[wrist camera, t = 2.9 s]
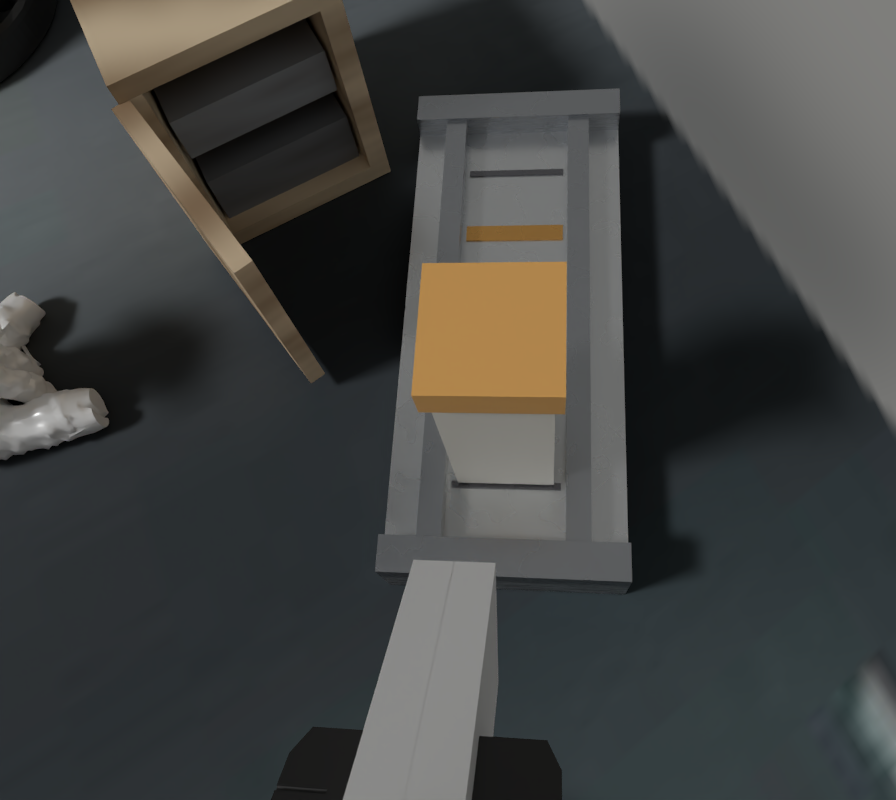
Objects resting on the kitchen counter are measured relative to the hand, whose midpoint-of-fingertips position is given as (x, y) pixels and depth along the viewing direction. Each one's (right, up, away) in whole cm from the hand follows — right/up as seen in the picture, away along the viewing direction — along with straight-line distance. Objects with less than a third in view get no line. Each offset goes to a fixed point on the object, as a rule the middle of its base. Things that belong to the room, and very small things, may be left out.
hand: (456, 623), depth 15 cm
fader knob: (+2, +2, +19) cm, 20 cm away
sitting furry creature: (-22, +3, +26) cm, 34 cm away
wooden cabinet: (-8, +14, +28) cm, 32 cm away
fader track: (+3, +7, +24) cm, 25 cm away
